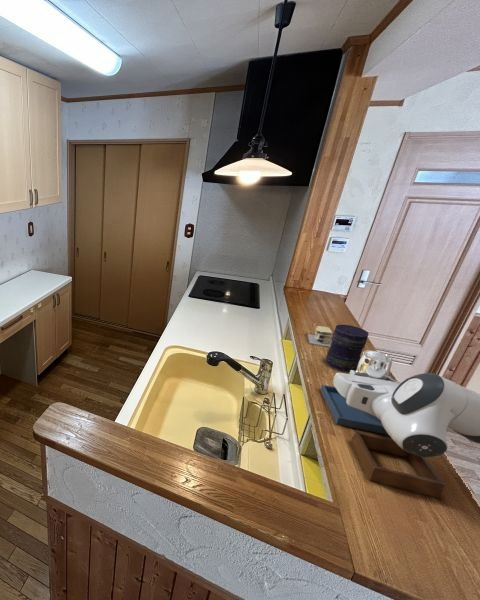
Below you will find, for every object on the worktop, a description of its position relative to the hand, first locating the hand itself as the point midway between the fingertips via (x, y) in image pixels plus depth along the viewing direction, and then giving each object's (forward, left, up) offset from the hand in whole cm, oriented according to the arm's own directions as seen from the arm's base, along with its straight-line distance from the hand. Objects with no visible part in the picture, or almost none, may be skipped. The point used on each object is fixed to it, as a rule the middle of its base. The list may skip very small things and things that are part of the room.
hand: (368, 374), depth 96 cm
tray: (0, +1, -13) cm, 13 cm away
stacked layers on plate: (-3, -50, -13) cm, 52 cm away
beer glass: (0, +1, -8) cm, 8 cm away
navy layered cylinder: (-4, -29, -13) cm, 32 cm away
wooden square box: (0, +23, -13) cm, 26 cm away
